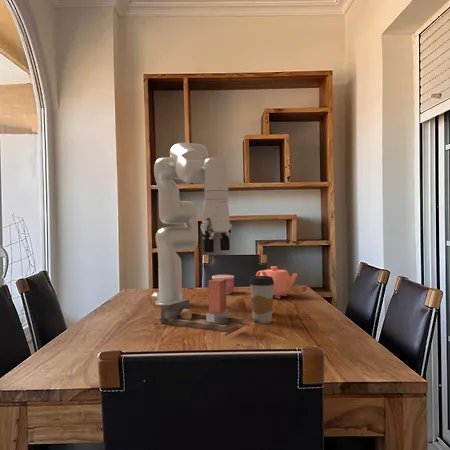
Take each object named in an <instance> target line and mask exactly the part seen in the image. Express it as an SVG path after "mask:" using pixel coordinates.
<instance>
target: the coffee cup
mask: <svg viewBox="0 0 450 450" xmlns="http://www.w3.org/2000/svg"><path fill="white" fill-rule="evenodd" d="M273 285H274V280H273V277H270V276H256V275H254V276H251V277H250V280H249V288H250V304H251V305H250V306H251V314H252V315H251V316H252V319H253V323H256V324H268V323H271V321H272V318H273V317H272V315H273V308H274V307H273V304H274V303H273V302H274V295H273Z"/></svg>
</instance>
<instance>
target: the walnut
mask: <svg viewBox="0 0 450 450" xmlns="http://www.w3.org/2000/svg"><path fill="white" fill-rule="evenodd" d="M191 312H192V311H191V310H190V308H189V309H183V310H182V311H181V312H180V318H181V319H182V320H188V321H189V320H190V319H191V317H192V313H191Z"/></svg>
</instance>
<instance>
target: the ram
mask: <svg viewBox="0 0 450 450" xmlns="http://www.w3.org/2000/svg"><path fill="white" fill-rule="evenodd" d="M205 314H206V323H212V324H220V325H222V324H225V323H227V322H229V317H230V312H229V309H227V294H226V280H221V279H214V280H213V279H209V280H208V312H207V313H205Z"/></svg>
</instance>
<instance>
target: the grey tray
mask: <svg viewBox="0 0 450 450" xmlns="http://www.w3.org/2000/svg"><path fill="white" fill-rule="evenodd" d="M183 309H189V310H190V299H188V298H182V299H179V300H176V301H172V302H169V303H165V304H161V306H160V324H166V325H173V326H180V327H188V328H194V329H201V330H207V331H208V330H210V331H217V332H227V331H229V330H232V329H233V330H232V331H230V332H227V333H225V334H224V335H225V336H226V335H227V336H228V335H229V334H231V333H233V332H235V331H238V330H239V329H242V328H243V327H244V325H243V324H244V318H242V317H235V316H229V322H227V323H225V324H222V325H220V324H212V323H206V314H207V313H201V312H200V313H199V312H192V311H191V313H192V317H191V319H190V320H189V321H188V320H182V319H181V318H180V312H181V311H182V310H183ZM240 325H243V326H240ZM238 326H240V327H239V328H236V327H238ZM234 328H236V329H234Z"/></svg>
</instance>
